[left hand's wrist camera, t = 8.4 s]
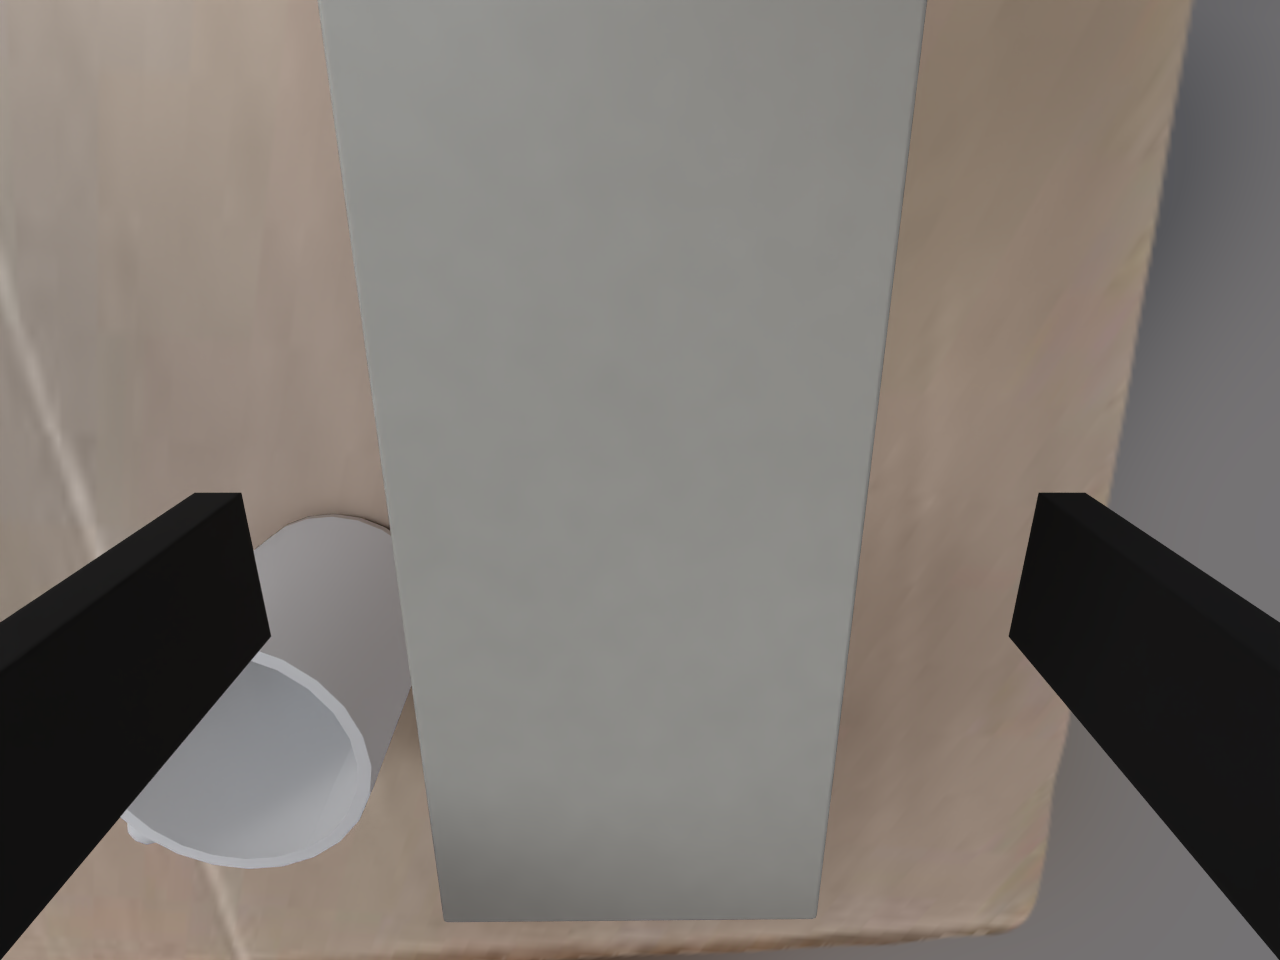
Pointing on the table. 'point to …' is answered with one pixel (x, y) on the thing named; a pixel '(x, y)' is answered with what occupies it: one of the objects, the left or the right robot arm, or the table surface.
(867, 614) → the table surface
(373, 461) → the table surface
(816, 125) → the bar
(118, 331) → the table surface
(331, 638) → the mug
